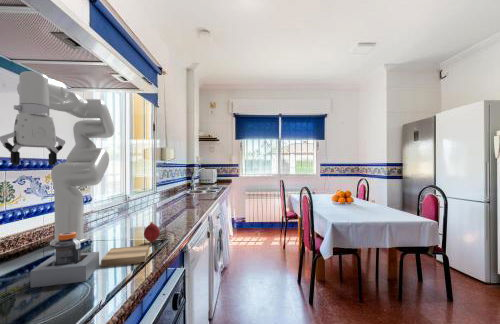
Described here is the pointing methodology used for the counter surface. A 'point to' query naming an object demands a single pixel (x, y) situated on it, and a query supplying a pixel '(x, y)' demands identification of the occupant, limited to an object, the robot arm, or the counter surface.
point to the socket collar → (64, 271)
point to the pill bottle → (67, 249)
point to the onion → (151, 232)
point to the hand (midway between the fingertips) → (34, 165)
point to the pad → (125, 256)
